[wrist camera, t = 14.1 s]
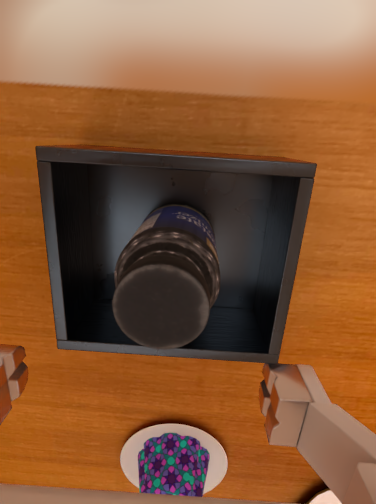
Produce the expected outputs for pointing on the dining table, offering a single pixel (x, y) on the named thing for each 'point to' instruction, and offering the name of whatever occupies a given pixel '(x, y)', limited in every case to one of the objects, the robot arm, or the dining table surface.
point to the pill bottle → (167, 278)
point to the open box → (146, 201)
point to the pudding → (173, 460)
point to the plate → (324, 498)
